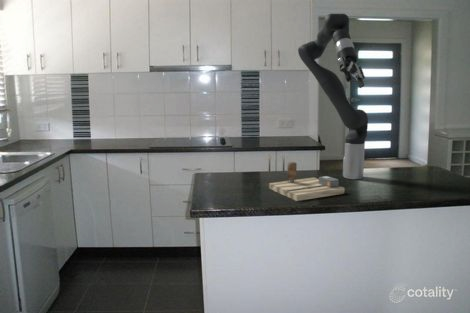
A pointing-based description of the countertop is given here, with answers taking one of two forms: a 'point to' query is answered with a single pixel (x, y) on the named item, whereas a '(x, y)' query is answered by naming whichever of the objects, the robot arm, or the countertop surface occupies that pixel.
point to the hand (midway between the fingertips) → (355, 84)
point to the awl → (291, 171)
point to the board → (305, 189)
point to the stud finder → (328, 181)
